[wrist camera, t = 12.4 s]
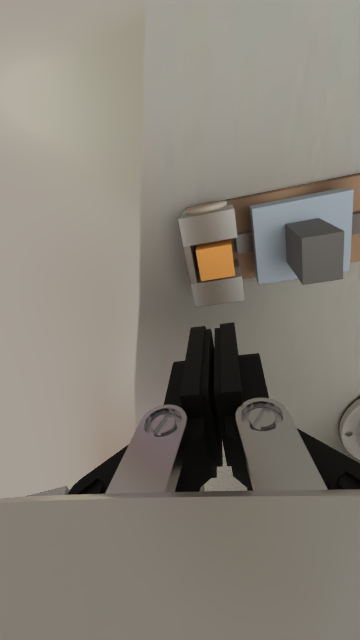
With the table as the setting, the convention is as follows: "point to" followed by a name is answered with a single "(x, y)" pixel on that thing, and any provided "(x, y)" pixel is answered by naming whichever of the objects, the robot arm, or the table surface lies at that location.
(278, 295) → the table surface
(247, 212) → the rail board
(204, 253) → the button
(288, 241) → the carriage
